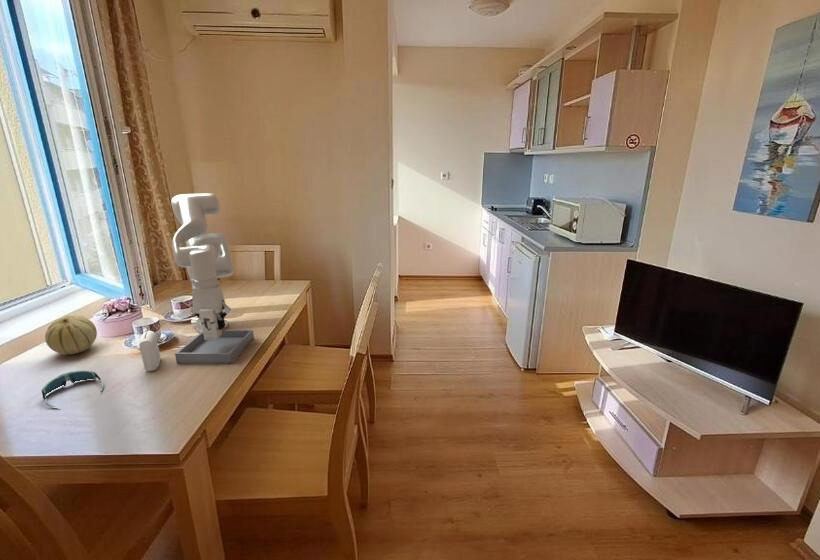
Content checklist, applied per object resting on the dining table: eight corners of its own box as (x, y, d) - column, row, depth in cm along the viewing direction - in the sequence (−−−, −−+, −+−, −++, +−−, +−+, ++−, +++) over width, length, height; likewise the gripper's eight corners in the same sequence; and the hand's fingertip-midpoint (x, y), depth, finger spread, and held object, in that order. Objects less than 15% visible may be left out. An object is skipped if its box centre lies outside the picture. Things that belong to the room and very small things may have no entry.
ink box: (213, 330, 150) (208, 302, 146) (226, 329, 150) (221, 301, 147) (203, 340, 141) (198, 310, 138) (217, 339, 142) (212, 310, 138)
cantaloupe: (93, 339, 157) (83, 305, 153) (107, 349, 149) (97, 314, 145) (46, 354, 146) (34, 318, 141) (58, 365, 138) (45, 327, 133)
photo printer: (148, 359, 142) (141, 329, 138) (162, 357, 143) (155, 326, 140) (144, 373, 133) (136, 340, 129) (158, 370, 134) (151, 338, 131)
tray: (176, 363, 139) (174, 353, 138) (206, 338, 158) (204, 329, 157) (231, 363, 138) (229, 354, 137) (254, 338, 157) (252, 329, 156)
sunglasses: (95, 375, 131) (92, 363, 130) (110, 396, 123) (107, 384, 121) (40, 395, 121) (35, 382, 119) (52, 419, 113) (48, 405, 111)
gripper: (176, 286, 136) (186, 332, 142) (224, 286, 136) (231, 332, 141) (188, 279, 143) (197, 324, 149) (234, 279, 143) (240, 324, 148)
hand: (214, 328), depth 145 cm, fingers closed on ink box, 5 cm apart
